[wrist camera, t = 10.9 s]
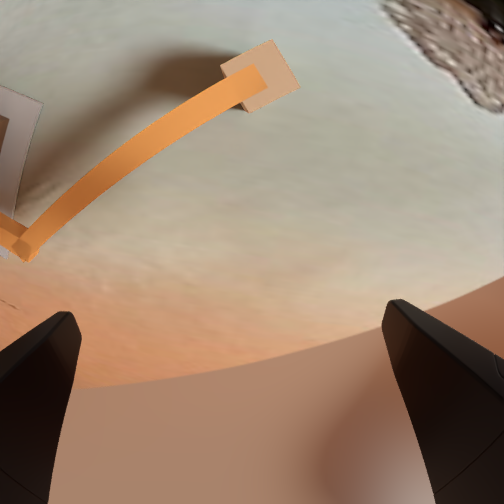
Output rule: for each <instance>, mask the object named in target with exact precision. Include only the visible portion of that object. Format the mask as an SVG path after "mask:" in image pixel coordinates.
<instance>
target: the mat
mask: <svg viewBox="0 0 504 504" xmlns="http://www.w3.org/2000/svg"><path fill="white" fill-rule="evenodd" d="M43 104H44V103H41V102H39V101H37V100H34V99H32V98H30V97H27V96H25V95H23V94H20V93H18V92H15V91H13V90H11V89H8V88H6V87H3V86H1V85H0V115H2V116H4V117H6V118H9V123H8V126H7V130H6V133H5V137H4V141H3V145H2V149H1V153H0V212H1V213H3V214H5V215H6V216H8V217H10V218H11V219H13V216H14V210H15V205H16V199H17V194H18V190H19V185H20V181H21V176H22V172H23V168H24V164H25V160H26V156H27V153H28V149H29V146H30V142H31V139H32V136H33V133H34V129H35V126H36V123H37V120H38V117H39V115H40V112H41V109H42V106H43ZM8 253H9V250H7V249H6V248H4V247H3V246H1V245H0V256H2V257H3V258H5V259H7V258H8Z"/></svg>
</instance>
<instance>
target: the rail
mask: <svg viewBox="0 0 504 504" xmlns="http://www.w3.org/2000/svg"><path fill="white" fill-rule="evenodd" d="M220 67H221V70H222V73H223V76H224V78H225V79H223V80H221V81H220V82H218V83H216V84H214V85H213V86H211V87H209V88H207V89H206V90H204V91H202V92H201V93H199V94H197V95H196V96H194V97H192V98H191V99H189V100H188V101H186V102H184V103H183V104H181V105H180V106H178V107H176V108H175V109H173V110H172V111H170V112H169V113H167V114H166V115H164V116H163V117H161V118H160V119H158V120H157V121H155V122H154V123H152V124H151V125H150V126H148V127H147V128H145V129H144V130H142V131H141V132H140V133H138V134H137V135H136V136H134V137H133V138H131V139H130V140H129V141H127V142H126V143H125V144H123V145H122V146H121V147H119V148H118V149H117V150H116V151H114V152H113V153H112V154H110V155H109V156H108V157H107V158H105V159H104V160H103V161H102V162H100V163H99V164H98V165H97V166H96V167H94V168H93V169H92V170H91V171H89V172H88V173H87V174H86V175H85V176H84V177H82V178H81V179H80V180H79V181H78V182H77V183H76V184H74V185H73V186H72V187H71V188H70V189H69V190H68V191H67V192H65V193H64V194H63V195H62V196H61V197H60V198H59V199H58V200H57V201H56V202H55V203H54V204H53V205H51V206H50V207H49V208H48V209H47V210H46V211H45V212H44V213H43V214H42V215H41V216H40V217H39V218H38V219H37V220H36V221H35V222H34V223H33V224H32V225H31V226H30V227H29V228H26V227H25V226H23V225H21V224H20V223H18V222H16V221H15V220H13V219H11V218H10V217H8V216H6V215H5V214H3V213H1V212H0V245H1V246H3V247H4V248H6V249H7V250H9V251H11V252H12V253H14V254H15V255H17V256H19V257H20V259H21V260H22V261H23V263H24V262H25V261H27V262H30V261H31V260H32V259H33V258H34V257H35V256H36V255H37V254H38V253H39V248H40V246H41V245H42V244H44V243H45V242H46V241H47V240H48V239H49V238H50V237H51V236H52V235H53V234H55V233H56V232H57V231H58V230H59V229H60V228H61V227H62V226H64V225H65V224H66V223H67V222H68V221H69V220H70V219H72V218H73V217H74V216H75V215H76V214H78V213H79V212H80V211H81V210H82V209H84V208H85V207H86V206H87V205H88V204H90V203H91V202H92V201H93V200H95V199H96V198H97V197H98V196H100V195H101V194H102V193H103V192H105V191H106V190H107V189H109V188H110V187H111V186H113V185H114V184H115V183H116V182H118V181H119V180H120V179H122V178H123V177H125V176H126V175H127V174H129V173H130V172H131V171H133V170H134V169H135V168H137V167H138V166H140V165H141V164H142V163H144V162H145V161H147V160H148V159H150V158H151V157H153V156H154V155H155V154H157V153H158V152H160V151H161V150H163V149H164V148H166V147H167V146H169V145H170V144H172V143H173V142H175V141H176V140H178V139H180V138H181V137H183V136H184V135H186V134H187V133H189V132H191V131H192V130H194V129H195V128H197V127H199V126H200V125H202V124H204V123H205V122H207V121H209V120H210V119H212V118H214V117H215V116H217V115H219V114H221V113H222V112H224V111H226V110H228V109H229V108H231V107H233V106H235V105H237V104H238V103H240V104H241V105H242V107H243V109H244V110H245V111H246V112H248V113H249V114H250V113H252V112H253V111H255V110H257V109H259V108H261V107H263V106H265V105H267V104H269V103H270V102H272V101H274V100H276V99H278V98H280V97H282V96H284V95H286V94H288V93H290V92H292V91H294V90H297V89H299V88H301V87H300V85H299V83H298V81H297V80H296V78H295V76H294V74H293V73H292V71H291V69H290V68H289V66H288V64H287V63H286V61H285V59H284V58H283V56H282V54H281V53H280V51H279V49H278V48H277V46H276V45H275V43H274V41H273V40H272V39H271V40H269V41H267V42H265V43H263V44H261V45H259V46H257V47H254V48H252V49H250V50H248V51H246V52H244V53H242V54H240V55H238V56H237V57H235V58H233V59H231V60H229V61H227V62H225V63H223V64H222V65H220Z"/></svg>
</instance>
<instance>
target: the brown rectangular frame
mask: <svg viewBox="0 0 504 504" xmlns="http://www.w3.org/2000/svg"><path fill="white" fill-rule="evenodd" d="M8 123H9V118H6V117H4V116H2V115H0V153H1V149H2V145H3V141H4V137H5V133H6V130H7V126H8Z"/></svg>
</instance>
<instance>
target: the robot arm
mask: <svg viewBox="0 0 504 504" xmlns="http://www.w3.org/2000/svg"><path fill="white" fill-rule="evenodd" d="M382 332H383V335H384V339H385V343H386V346H387V350H388V354H389V357H390V361H391V365H392V369H393V372H394V375H395V378H396V381H397V383H398V386H399V389H400V391H401V394H402V397H403V400H404V402H405V405H406V408H407V411H408V413H409V416H410V419H411V422H412V425H413V428H414V431H415V434H416V437H417V440H418V443H419V447H420V450H421V453H422V456H423V459H424V462H425V466H426V469H427V473H428V476H429V480H430V483H431V487H432V491H433V493H434V499H435V503H436V504H504V359H502V358H501V357H499V356H498V355H496V354H495V355H494V353H492V352H491V351H489V350H487V349H486V348H484V347H483V346H481V345H479V344H478V343H476V342H475V341H473V340H471V339H470V338H468V337H466V336H465V335H463V334H461V333H460V332H458V331H456V330H455V329H453V328H451V327H450V326H448V325H446V324H444V323H443V322H441V321H439V320H438V319H436V318H434V317H432V316H430V315H429V314H427V313H426V312H424V311H422V310H420V309H419V308H417V307H415V306H414V305H412V304H410V303H408V302H407V301H405V300H403V299H396V300H390V301H389V302H388V303H387V306H386V310H385V313H384V317H383V320H382ZM81 341H82V336H81V332H80V330H79V327H78V325H77V322H76V320H75V317H74V315H73V314H72V313H71V312H69V311H59V312H57V313H56V314H54V315H53V316H51V317H50V318H48V319H47V320H45V321H44V322H42V323H41V324H39V325H38V326H36V327H35V328H33V329H32V330H30V331H29V332H27V333H26V334H25V335H23V336H22V337H20V338H19V339H17V340H16V341H14V342H13V343H12V344H10V345H9V346H7V347H6V348H4V349H3V350H2V351H0V504H48V500H49V491H50V485H51V479H52V472H53V467H54V462H55V457H56V451H57V447H58V442H59V437H60V433H61V428H62V424H63V420H64V416H65V412H66V408H67V404H68V400H69V396H70V393H71V389H72V385H73V381H74V376H75V371H76V365H77V360H78V355H79V350H80V346H81Z"/></svg>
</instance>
